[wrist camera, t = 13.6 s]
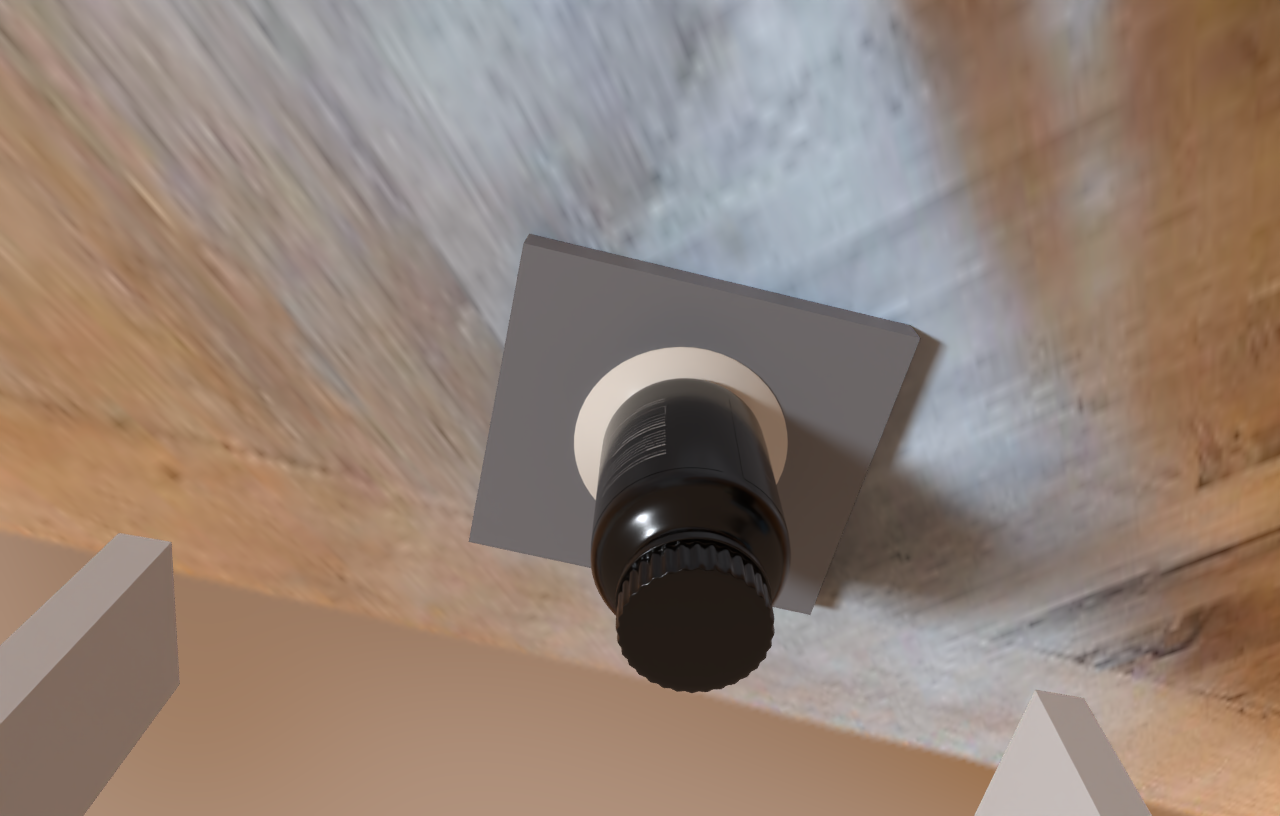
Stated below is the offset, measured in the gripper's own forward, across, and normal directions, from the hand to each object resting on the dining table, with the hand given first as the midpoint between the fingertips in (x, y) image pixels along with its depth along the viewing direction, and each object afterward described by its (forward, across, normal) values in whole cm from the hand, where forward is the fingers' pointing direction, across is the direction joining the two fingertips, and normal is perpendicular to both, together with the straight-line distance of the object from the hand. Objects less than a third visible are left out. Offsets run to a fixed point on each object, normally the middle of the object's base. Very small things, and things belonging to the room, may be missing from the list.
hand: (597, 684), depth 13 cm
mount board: (+24, -3, +7) cm, 25 cm away
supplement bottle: (+23, -3, +7) cm, 24 cm away
